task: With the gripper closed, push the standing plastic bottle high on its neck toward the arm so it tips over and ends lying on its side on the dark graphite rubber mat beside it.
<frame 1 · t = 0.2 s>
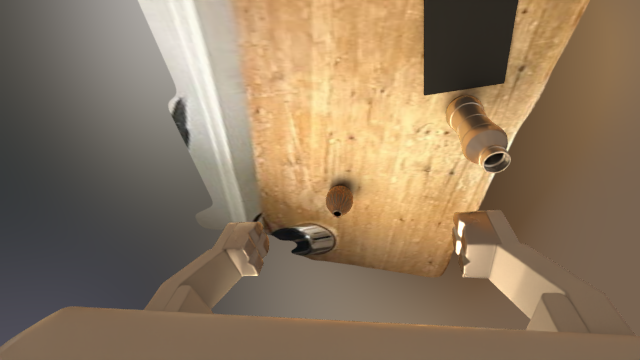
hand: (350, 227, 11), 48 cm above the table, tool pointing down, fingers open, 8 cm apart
vase: (340, 191, 72), on the table
plastic bottle: (460, 108, 54), on the table
mat: (467, 26, 46), on the table
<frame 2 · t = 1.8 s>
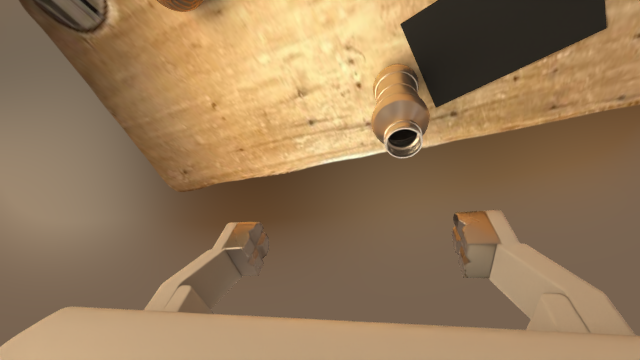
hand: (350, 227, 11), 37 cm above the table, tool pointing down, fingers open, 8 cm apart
plastic bottle: (394, 81, 43), on the table
mat: (497, 25, 36), on the table
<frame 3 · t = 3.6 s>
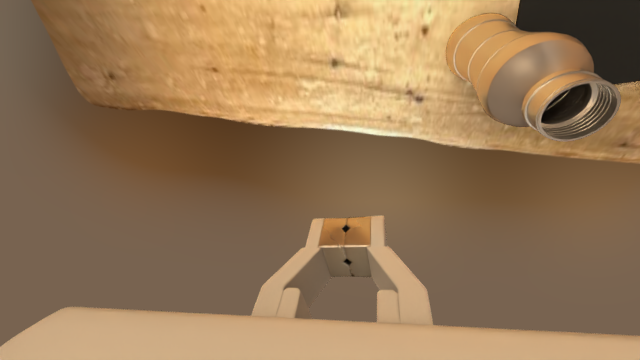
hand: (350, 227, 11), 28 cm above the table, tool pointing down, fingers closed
plastic bottle: (472, 43, 31), on the table
mat: (637, 13, 27), on the table
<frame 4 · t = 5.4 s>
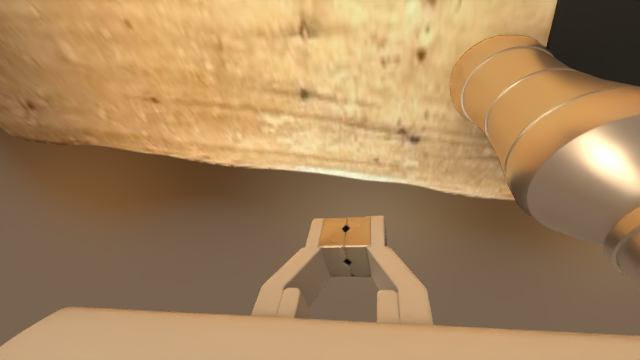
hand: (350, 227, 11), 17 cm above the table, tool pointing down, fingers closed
plastic bottle: (485, 72, 23), on the table
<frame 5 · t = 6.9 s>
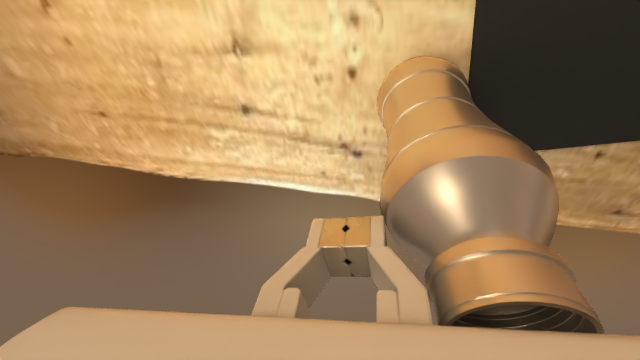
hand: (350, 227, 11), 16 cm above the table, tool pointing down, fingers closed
plastic bottle: (415, 90, 23), on the table, touching gripper
mat: (633, 56, 19), on the table
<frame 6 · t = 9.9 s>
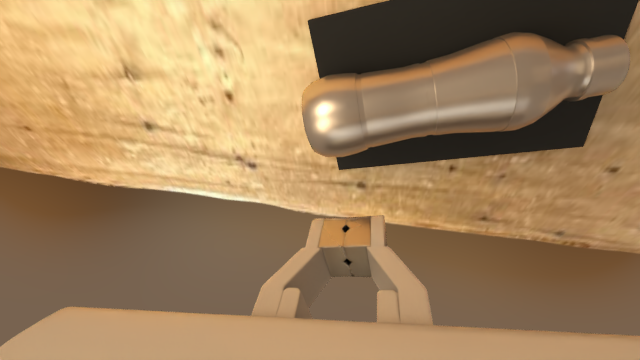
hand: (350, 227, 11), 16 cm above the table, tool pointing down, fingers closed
plastic bottle: (303, 123, 22), point 4 cm above the table, touching mat
mat: (451, 85, 22), on the table
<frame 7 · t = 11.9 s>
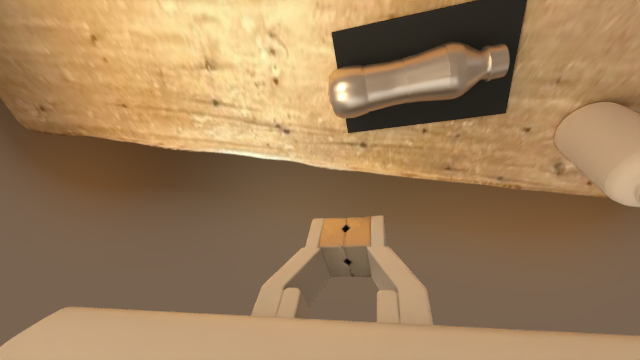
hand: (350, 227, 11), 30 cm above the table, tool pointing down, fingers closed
pill bottle: (585, 128, 36), on the table
plastic bottle: (328, 97, 35), point 4 cm above the table, touching mat
mat: (421, 73, 35), on the table
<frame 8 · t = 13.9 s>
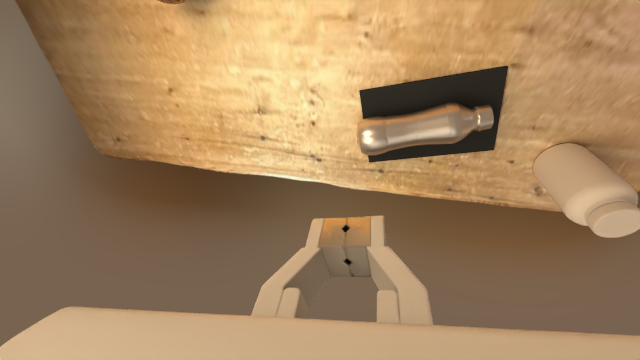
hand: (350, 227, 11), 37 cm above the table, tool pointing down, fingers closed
pill bottle: (557, 161, 47), on the table
plastic bottle: (356, 139, 46), point 4 cm above the table, touching mat
mat: (428, 120, 46), on the table
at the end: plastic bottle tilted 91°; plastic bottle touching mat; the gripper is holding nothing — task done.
